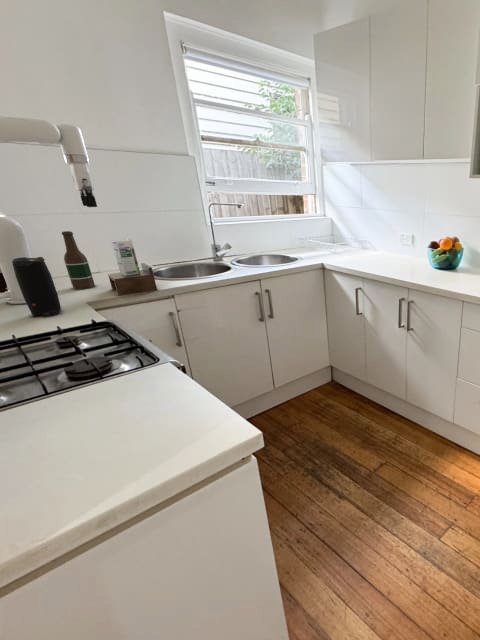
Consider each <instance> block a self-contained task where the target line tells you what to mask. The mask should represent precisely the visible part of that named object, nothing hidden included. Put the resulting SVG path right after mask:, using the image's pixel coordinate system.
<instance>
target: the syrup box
mask: <svg viewBox="0 0 480 640" xmlns="http://www.w3.org/2000/svg"><path fill="white" fill-rule="evenodd" d="M111 245H112V248H113V252H114V255H115V258H116V262H117V266H118V269H119V273H121V274H122V275H124V276H128V275H135V274H140V270H141V269H140V266H139V263H138V259H137V255H136V251H135V248H134V244H133V241H132V239H130V238H123V239H112V240H111Z"/></svg>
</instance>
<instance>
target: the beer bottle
mask: <svg viewBox="0 0 480 640" xmlns="http://www.w3.org/2000/svg"><path fill="white" fill-rule="evenodd" d="M61 235H62V238H63V241H64V245H65V253H64V255H63V261H64V265H65V267H66V272H67V274H68V277H69V280H70V283H71V286H72V288H73V289H74V290H86V289H92V288H95V287H96V285H95V281H94V277H93V274H92V271H91V268H90V264H89V261H88V259H87V257H86V256H85V254H84V253H82V252H81V250H80V249H79V247H78V245H77V242H76V240H75V237H74V232H73V231H69V230H67V231H66V230H65V231H61Z"/></svg>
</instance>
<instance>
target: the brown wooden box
mask: <svg viewBox="0 0 480 640" xmlns="http://www.w3.org/2000/svg"><path fill="white" fill-rule="evenodd" d="M140 266H141V269H139V270H140V274H135V275H128V276H124V275H122V274H121V273H120V272H113V273H112V272H111V273H108V274H107V277H108V280H109V284H110V286H111V290H112V291H116V292H117V296H125V295H133V294H138V293H139V294H140V293H146V292H153V291H158V288H157V283H156V279H155V275H154V271H153V267H152V266H150V265H148V264H147V263H145V262H142V263H140Z"/></svg>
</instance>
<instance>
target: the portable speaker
mask: <svg viewBox="0 0 480 640" xmlns="http://www.w3.org/2000/svg"><path fill="white" fill-rule="evenodd" d="M12 264H13V268H14V272H15V276H16V279H17V281H18V284H19V287H20V289H21V292H22V295H23V297H24V299H25V301H26V303H25V304H26V305H27V308H28V310H29V311H30V314H31V316H32V317H33V318H34V317H35V318H36V317H37V316H42V315H43V316H45V317H52V316H56V315H59V314H60V312H61V310H62V306H61V302H60V299H59V298H60V297H59V294H58V290H57V288H56V285H55V283H54V279H53V277H52V274H51V272H50V270H49V267H48V266H47V263H46V260H45V258H44V257H43V256H37V257H32V258H26V257H23V258H16V259H13V261H12Z"/></svg>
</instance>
